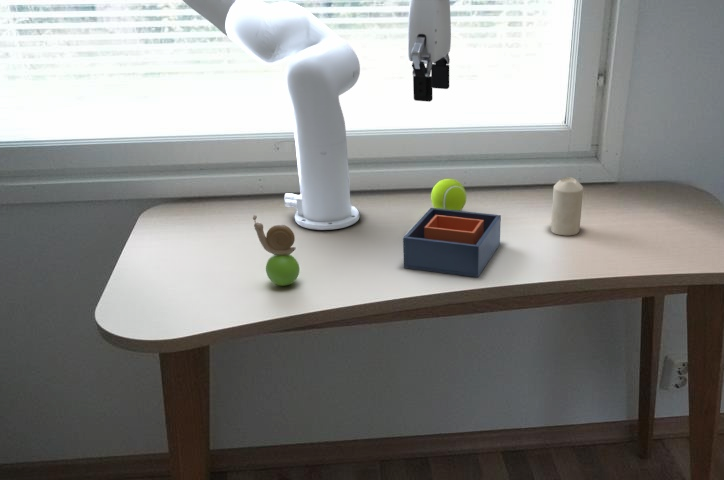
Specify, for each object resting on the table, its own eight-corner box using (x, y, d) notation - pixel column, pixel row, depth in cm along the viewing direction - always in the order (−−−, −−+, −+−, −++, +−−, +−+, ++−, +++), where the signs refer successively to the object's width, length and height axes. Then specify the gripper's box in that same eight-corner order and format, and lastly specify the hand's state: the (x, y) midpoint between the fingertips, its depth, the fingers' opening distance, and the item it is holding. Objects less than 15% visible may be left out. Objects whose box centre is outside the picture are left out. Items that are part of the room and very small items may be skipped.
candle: (578, 237, 157) (582, 185, 152) (549, 234, 158) (552, 183, 152) (580, 226, 162) (585, 175, 156) (552, 224, 162) (555, 173, 157)
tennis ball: (425, 211, 168) (424, 177, 164) (454, 205, 171) (454, 172, 167) (442, 222, 163) (442, 187, 159) (472, 216, 166) (473, 181, 162)
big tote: (403, 267, 145) (402, 237, 142) (431, 236, 157) (430, 207, 154) (478, 277, 141) (478, 246, 138) (499, 244, 154) (501, 215, 151)
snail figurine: (263, 278, 141) (254, 209, 134) (302, 276, 141) (294, 208, 135) (260, 291, 136) (250, 222, 130) (299, 290, 137) (292, 220, 130)
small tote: (424, 256, 147) (424, 227, 144) (435, 243, 153) (435, 214, 150) (473, 262, 145) (474, 232, 142) (483, 248, 150) (483, 219, 147)
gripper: (425, -22, 144) (427, 82, 153) (390, -9, 130) (394, 104, 139) (467, -20, 142) (466, 85, 151) (436, -7, 128) (437, 107, 137)
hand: (431, 94), depth 145 cm, fingers open, 9 cm apart
